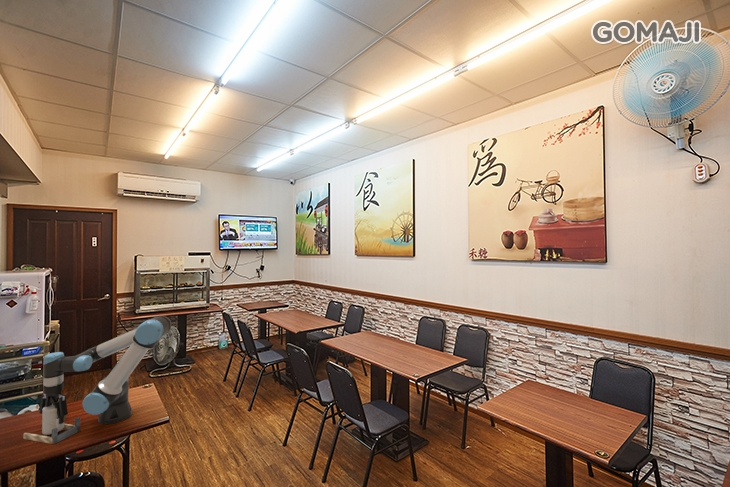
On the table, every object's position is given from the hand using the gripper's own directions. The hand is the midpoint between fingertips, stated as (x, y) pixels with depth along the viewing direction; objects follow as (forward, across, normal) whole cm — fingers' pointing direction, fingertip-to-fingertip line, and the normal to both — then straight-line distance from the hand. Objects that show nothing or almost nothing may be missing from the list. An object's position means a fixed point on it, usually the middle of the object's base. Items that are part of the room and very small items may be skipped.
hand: (53, 428), depth 169 cm
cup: (+1, 0, 0) cm, 1 cm away
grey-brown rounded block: (+3, +14, -11) cm, 18 cm away
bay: (+3, +1, 0) cm, 3 cm away
